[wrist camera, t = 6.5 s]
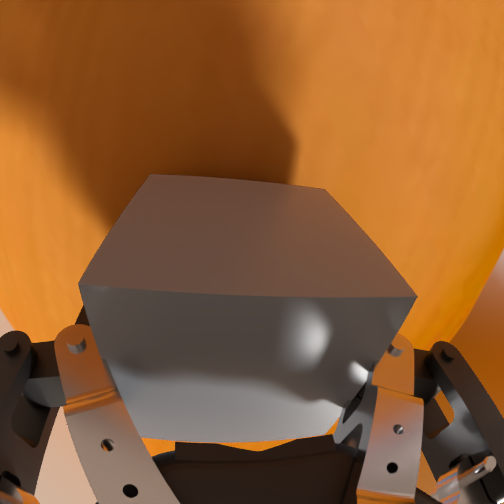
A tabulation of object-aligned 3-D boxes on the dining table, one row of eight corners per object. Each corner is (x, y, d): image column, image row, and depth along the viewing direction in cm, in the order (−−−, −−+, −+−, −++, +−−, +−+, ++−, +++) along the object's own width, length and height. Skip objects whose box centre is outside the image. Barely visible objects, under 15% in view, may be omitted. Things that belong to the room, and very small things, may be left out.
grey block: (150, 173, 10) (77, 283, 4) (324, 189, 11) (417, 296, 5) (156, 311, 13) (136, 436, 8) (291, 316, 14) (325, 434, 9)
